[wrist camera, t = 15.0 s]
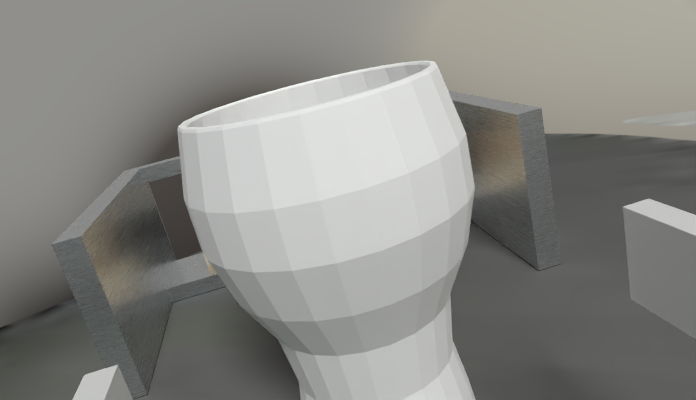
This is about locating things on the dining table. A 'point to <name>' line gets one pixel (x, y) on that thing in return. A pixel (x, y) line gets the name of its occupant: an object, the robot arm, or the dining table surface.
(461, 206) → the cup
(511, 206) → the grey open storage bin
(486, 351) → the dining table surface
